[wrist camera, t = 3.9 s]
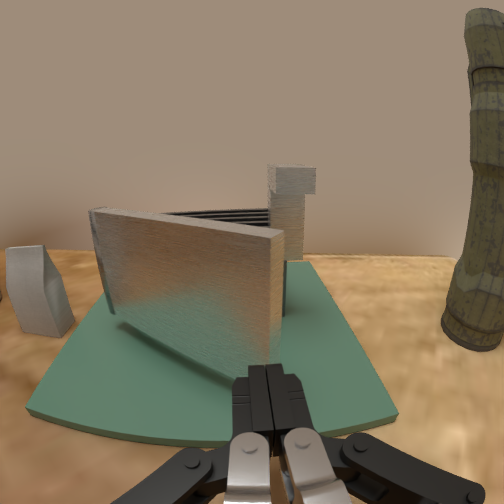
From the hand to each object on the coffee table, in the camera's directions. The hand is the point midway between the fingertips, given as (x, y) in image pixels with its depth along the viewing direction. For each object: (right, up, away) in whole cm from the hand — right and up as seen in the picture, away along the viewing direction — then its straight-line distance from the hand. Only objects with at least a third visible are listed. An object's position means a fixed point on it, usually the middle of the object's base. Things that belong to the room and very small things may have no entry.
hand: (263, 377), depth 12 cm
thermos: (+24, -3, +12) cm, 27 cm away
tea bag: (-25, -3, +14) cm, 29 cm away
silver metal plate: (-7, -1, +9) cm, 11 cm away
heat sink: (-5, -2, +16) cm, 17 cm away
